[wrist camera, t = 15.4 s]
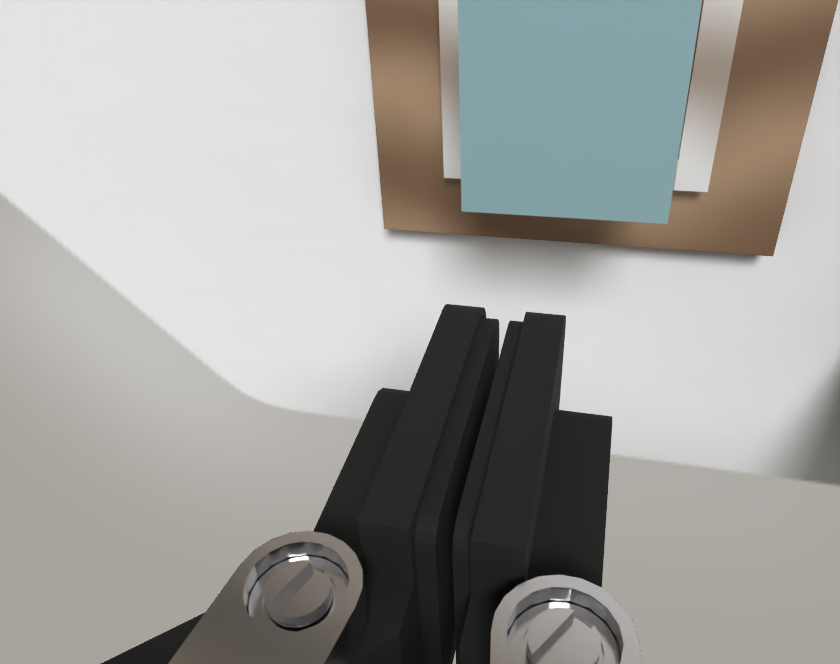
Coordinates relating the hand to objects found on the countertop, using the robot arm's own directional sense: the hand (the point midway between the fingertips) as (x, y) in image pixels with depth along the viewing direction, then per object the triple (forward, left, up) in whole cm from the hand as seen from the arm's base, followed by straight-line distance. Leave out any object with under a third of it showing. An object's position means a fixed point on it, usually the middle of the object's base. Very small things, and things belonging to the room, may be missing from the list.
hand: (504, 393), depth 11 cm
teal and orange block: (0, 0, -20) cm, 20 cm away
